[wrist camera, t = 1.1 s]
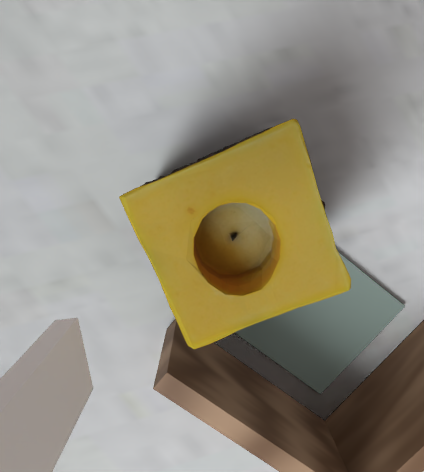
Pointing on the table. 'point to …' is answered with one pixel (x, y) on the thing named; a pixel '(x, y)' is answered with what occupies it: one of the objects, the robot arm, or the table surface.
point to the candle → (239, 235)
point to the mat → (326, 330)
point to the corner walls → (303, 410)
